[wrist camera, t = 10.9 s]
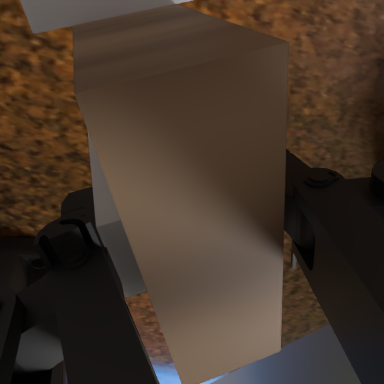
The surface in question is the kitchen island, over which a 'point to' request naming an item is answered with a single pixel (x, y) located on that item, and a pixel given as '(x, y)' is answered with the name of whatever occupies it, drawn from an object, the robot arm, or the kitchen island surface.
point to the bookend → (189, 165)
